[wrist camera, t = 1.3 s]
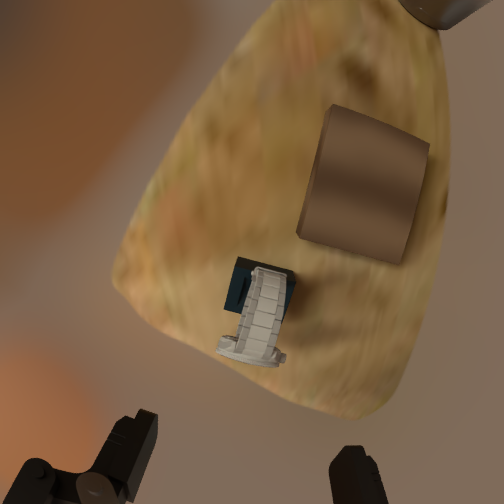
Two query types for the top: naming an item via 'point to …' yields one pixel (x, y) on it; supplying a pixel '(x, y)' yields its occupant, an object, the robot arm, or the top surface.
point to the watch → (257, 312)
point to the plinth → (363, 186)
